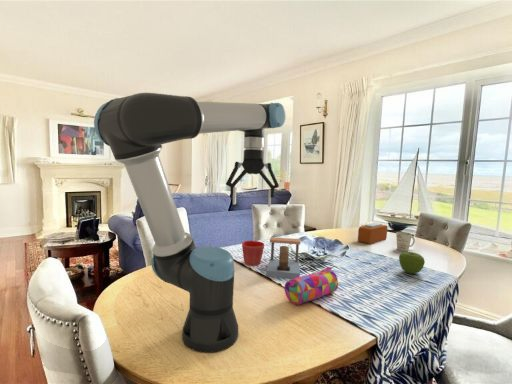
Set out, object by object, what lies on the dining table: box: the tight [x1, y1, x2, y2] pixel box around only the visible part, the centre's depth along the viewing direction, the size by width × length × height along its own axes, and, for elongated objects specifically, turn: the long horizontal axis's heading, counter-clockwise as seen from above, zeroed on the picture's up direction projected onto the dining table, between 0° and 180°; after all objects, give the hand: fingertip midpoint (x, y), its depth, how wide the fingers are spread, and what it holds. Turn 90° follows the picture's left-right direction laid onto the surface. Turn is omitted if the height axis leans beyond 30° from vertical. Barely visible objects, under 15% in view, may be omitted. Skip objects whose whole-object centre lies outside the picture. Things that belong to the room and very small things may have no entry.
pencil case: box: [284, 266, 339, 306], centre depth 102 cm, size 22×9×9 cm, turn 131°
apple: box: [398, 251, 426, 275], centre depth 130 cm, size 11×10×10 cm
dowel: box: [278, 245, 290, 271], centre depth 123 cm, size 4×4×12 cm
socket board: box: [265, 236, 301, 280], centre depth 126 cm, size 16×14×13 cm
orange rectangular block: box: [357, 222, 388, 245], centre depth 189 cm, size 24×8×11 cm, turn 130°
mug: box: [395, 231, 416, 252], centre depth 170 cm, size 8×13×10 cm, turn 107°
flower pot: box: [241, 240, 265, 267], centre depth 136 cm, size 11×11×10 cm
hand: (251, 205), depth 108 cm, fingers open, 13 cm apart
